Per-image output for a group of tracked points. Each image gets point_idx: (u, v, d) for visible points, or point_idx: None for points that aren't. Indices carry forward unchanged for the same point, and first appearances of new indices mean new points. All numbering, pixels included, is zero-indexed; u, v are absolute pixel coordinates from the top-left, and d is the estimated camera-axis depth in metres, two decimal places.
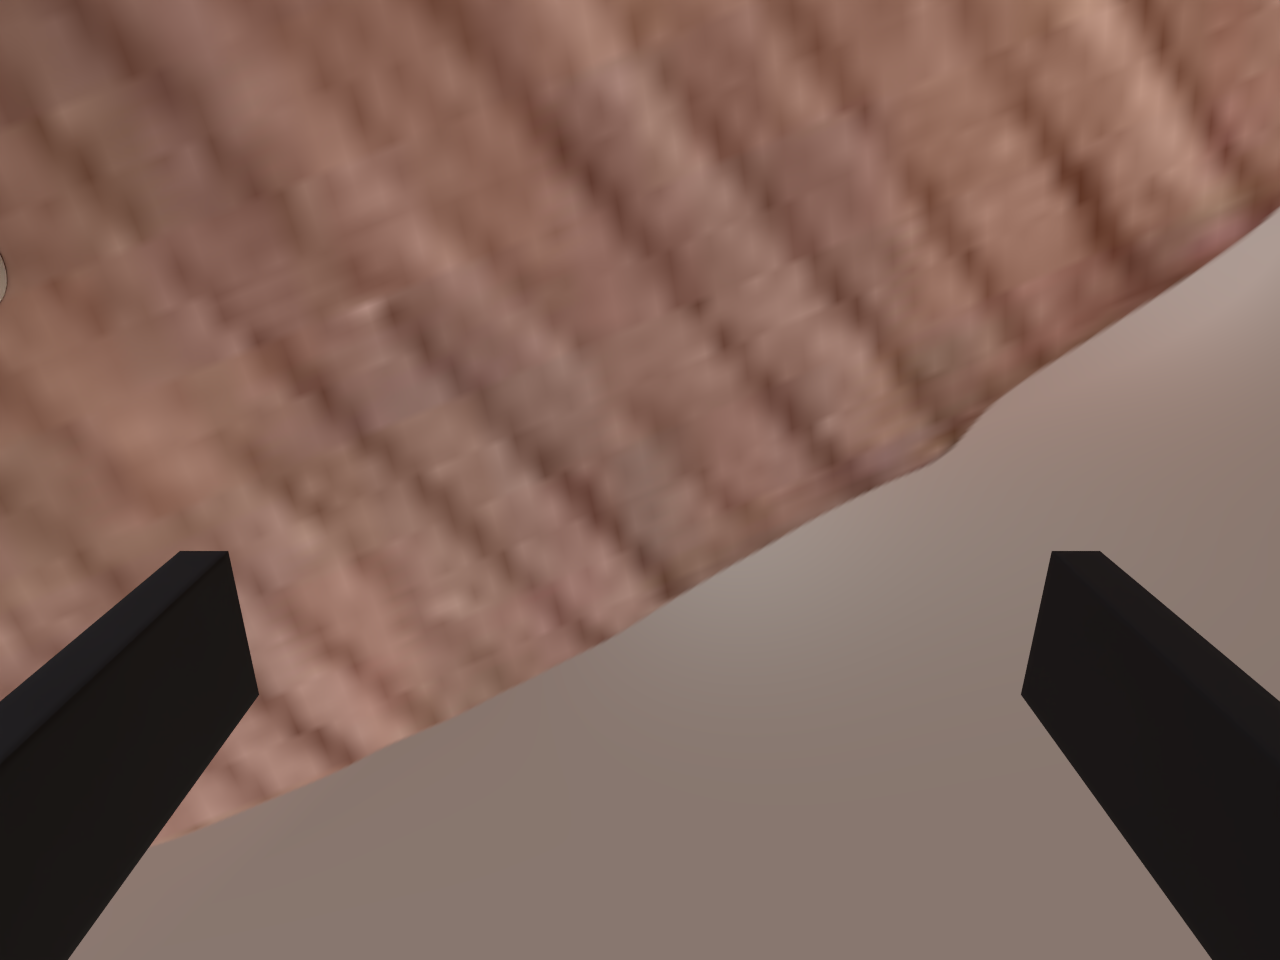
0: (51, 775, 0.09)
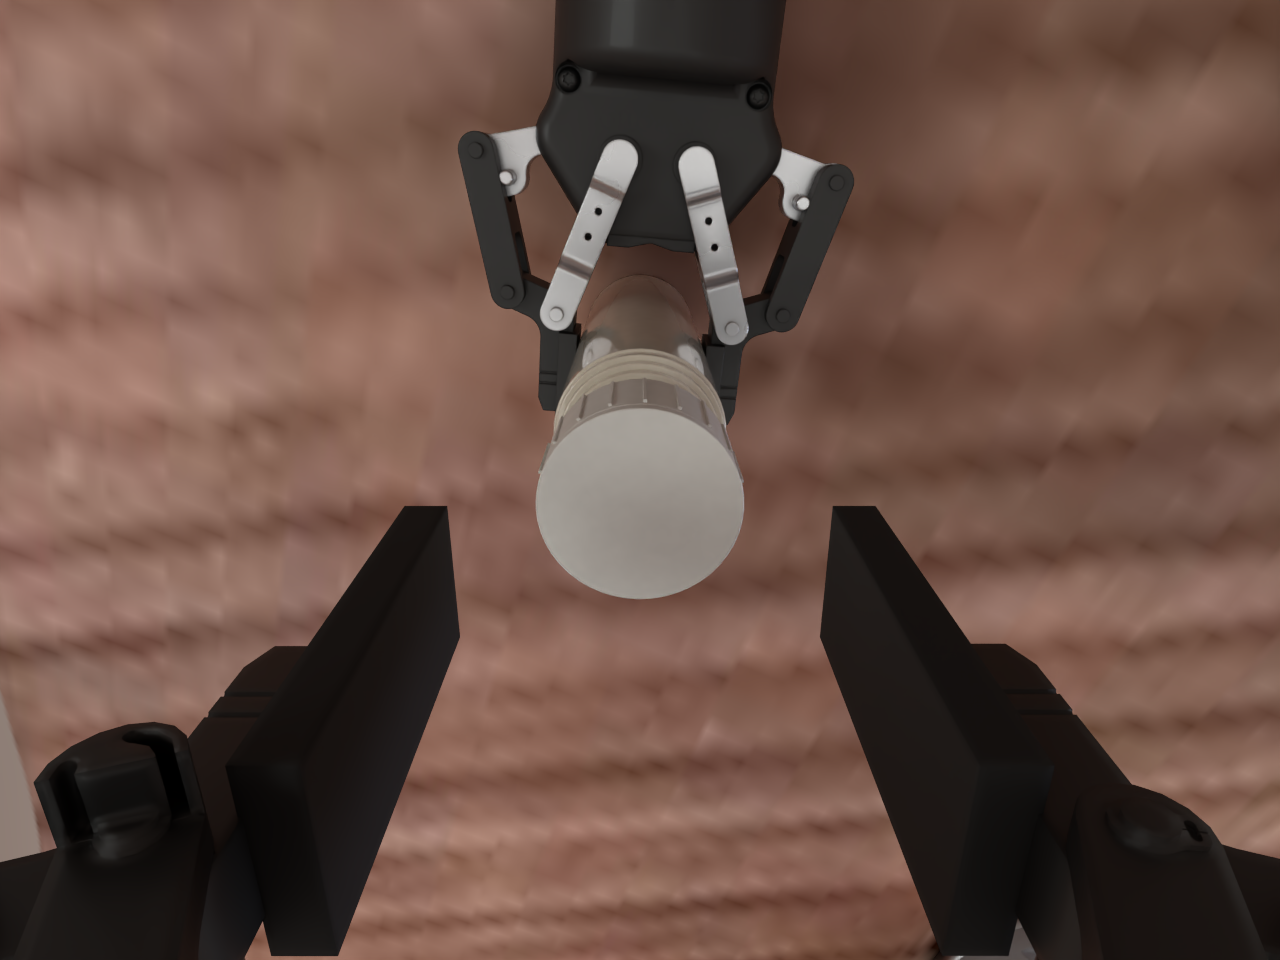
0: (377, 678, 0.10)
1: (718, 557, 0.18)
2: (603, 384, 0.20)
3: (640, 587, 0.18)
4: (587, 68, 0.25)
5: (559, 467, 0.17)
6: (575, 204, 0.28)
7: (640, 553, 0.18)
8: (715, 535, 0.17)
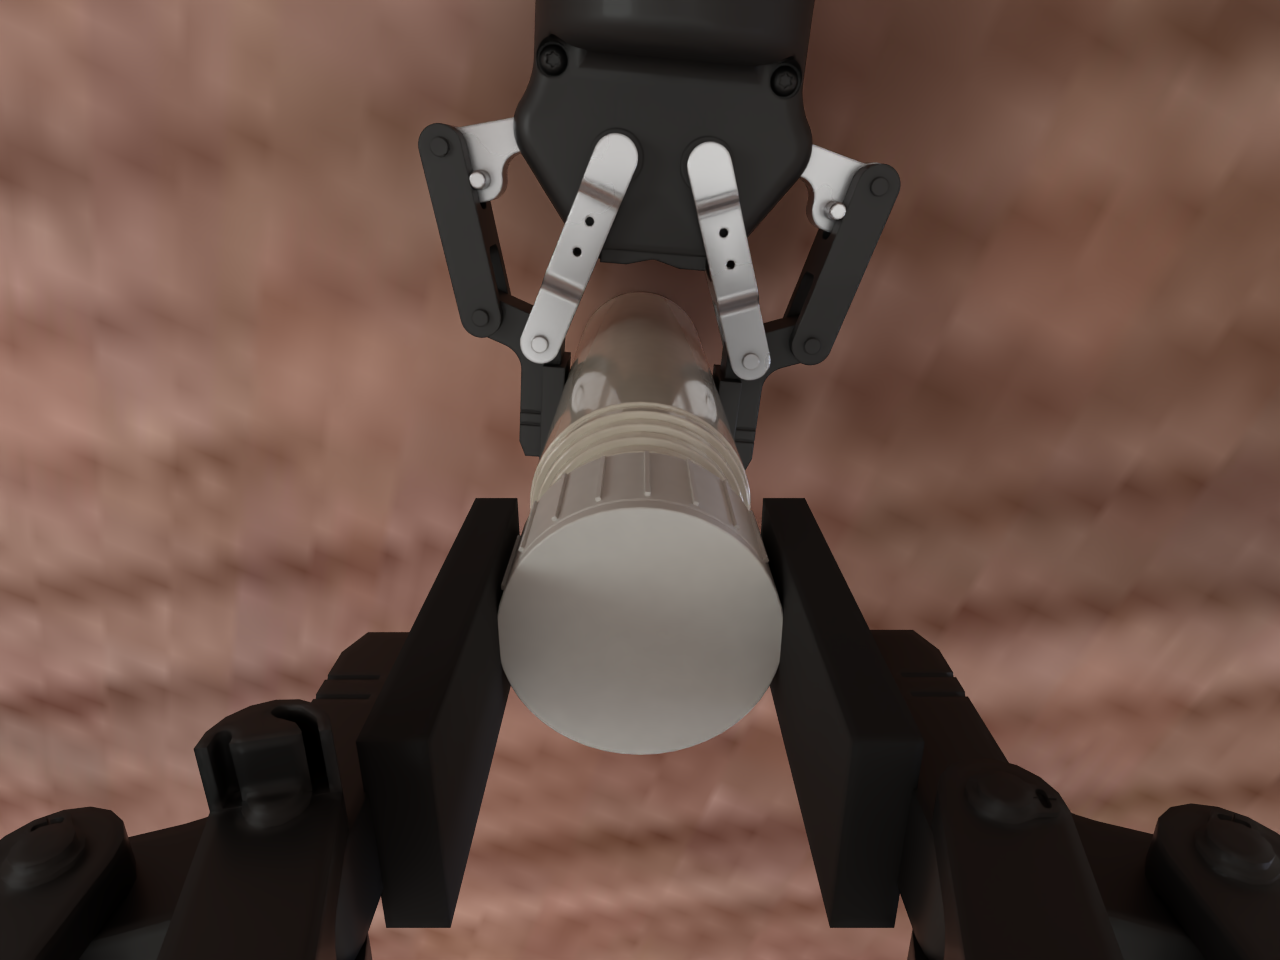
0: (474, 662, 0.11)
1: (747, 702, 0.13)
2: (592, 452, 0.15)
3: (640, 740, 0.13)
4: (575, 45, 0.20)
5: (527, 586, 0.12)
6: (562, 212, 0.23)
7: (640, 697, 0.13)
8: (744, 674, 0.13)
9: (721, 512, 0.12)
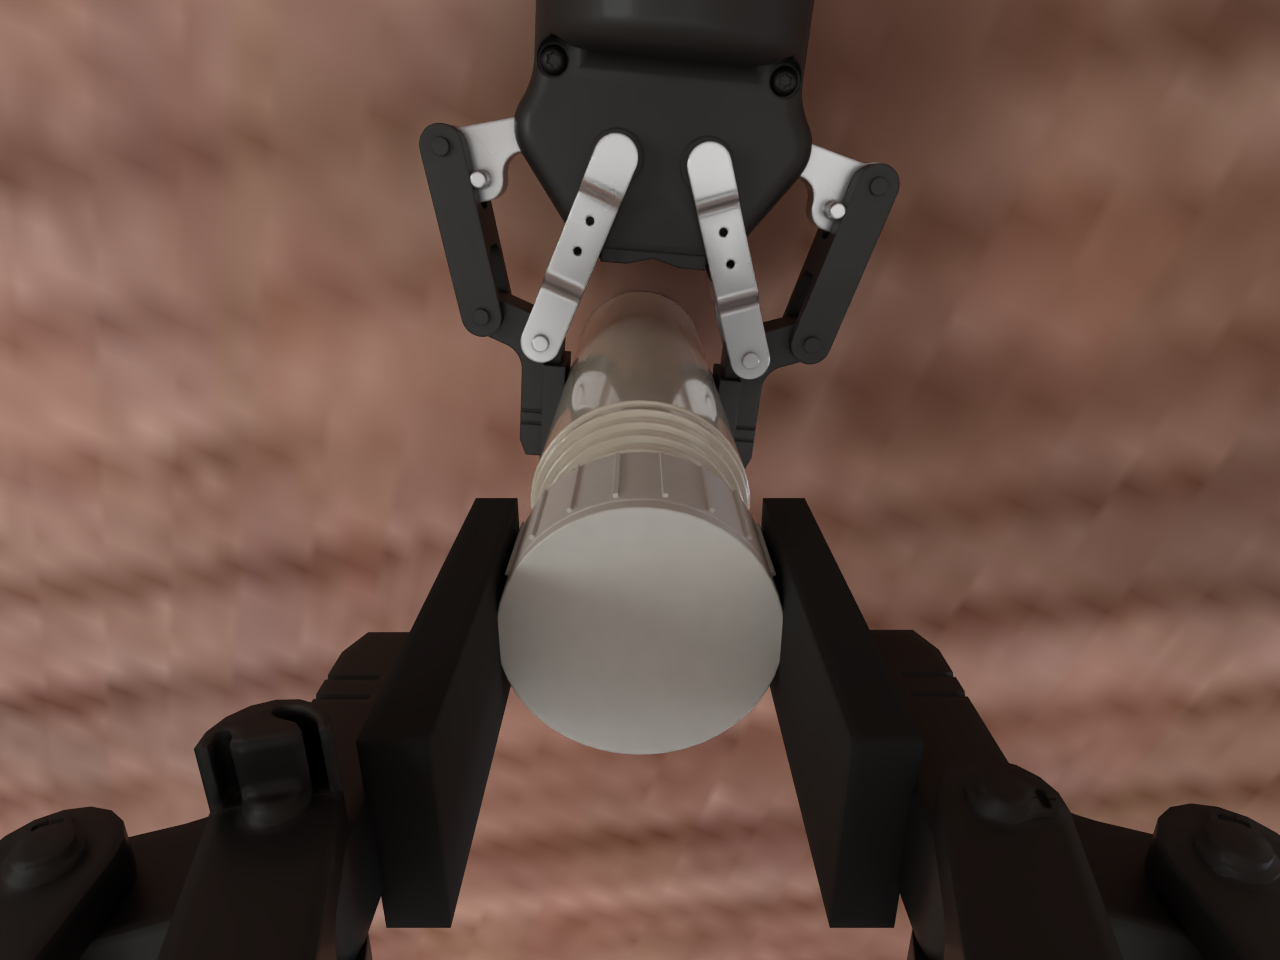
0: (474, 662, 0.11)
1: (725, 540, 0.12)
2: (592, 450, 0.15)
3: (764, 643, 0.12)
4: (575, 45, 0.20)
5: (578, 726, 0.13)
6: (562, 212, 0.23)
7: (710, 640, 0.12)
8: (687, 545, 0.12)
9: (525, 542, 0.13)
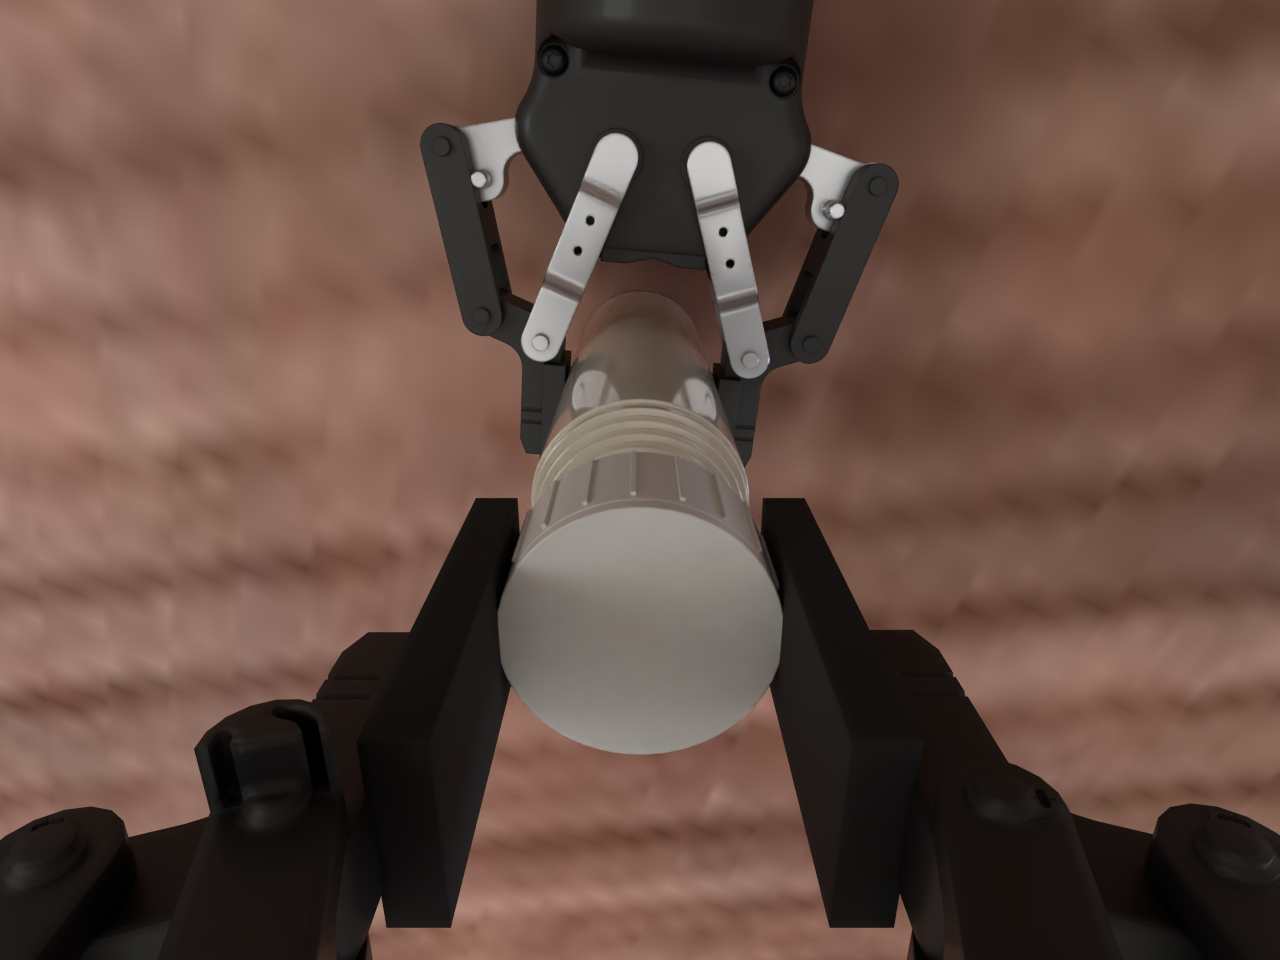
0: (474, 662, 0.11)
1: (530, 563, 0.12)
2: (593, 448, 0.16)
3: (648, 527, 0.12)
4: (576, 45, 0.20)
5: (741, 696, 0.13)
6: (563, 211, 0.23)
7: (644, 577, 0.12)
8: (534, 597, 0.12)
9: None
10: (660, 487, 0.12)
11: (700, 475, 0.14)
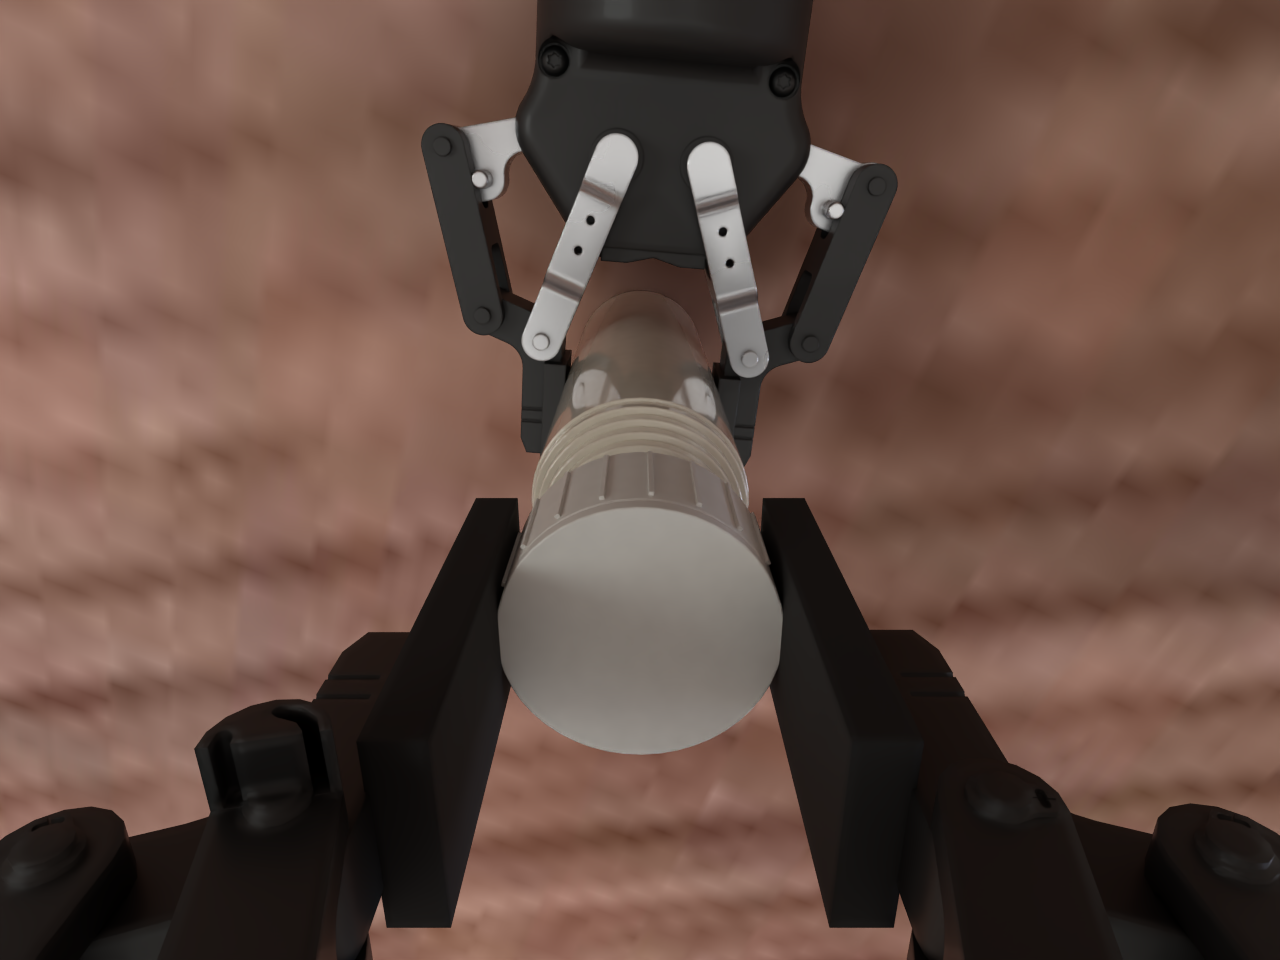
0: (474, 662, 0.11)
1: (555, 722, 0.13)
2: (593, 446, 0.16)
3: (515, 629, 0.12)
4: (576, 46, 0.20)
5: (715, 548, 0.12)
6: (563, 211, 0.23)
7: (570, 633, 0.12)
8: (590, 722, 0.13)
9: None
10: None
11: None
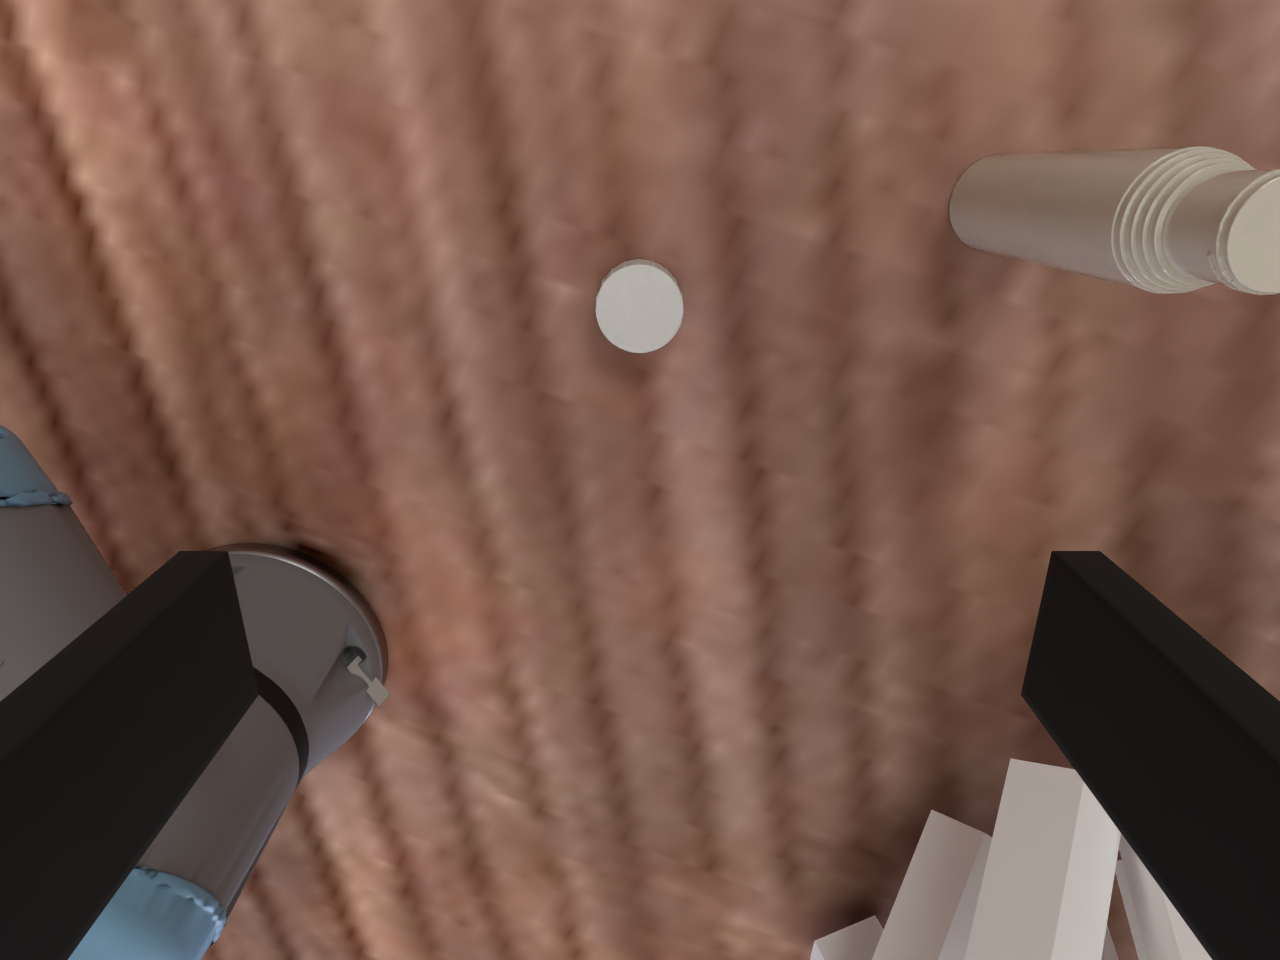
0: (51, 775, 0.09)
1: (668, 279, 0.40)
2: None
3: (676, 316, 0.41)
4: None
5: (615, 338, 0.41)
6: None
7: (660, 313, 0.41)
8: (657, 279, 0.40)
9: (608, 276, 0.41)
10: None
11: None
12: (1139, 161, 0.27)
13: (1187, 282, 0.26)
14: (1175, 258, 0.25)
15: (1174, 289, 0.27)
